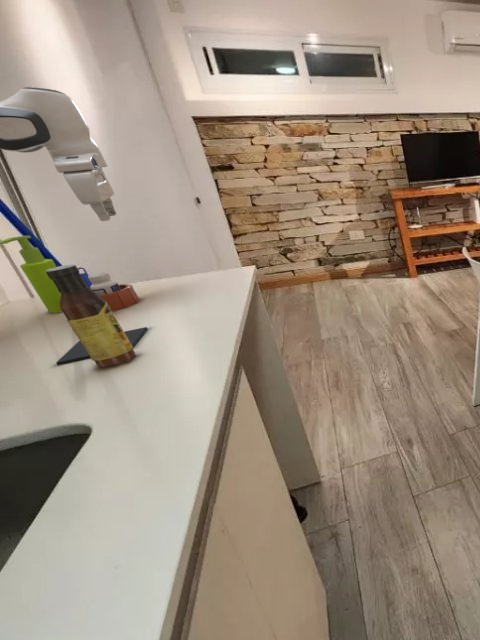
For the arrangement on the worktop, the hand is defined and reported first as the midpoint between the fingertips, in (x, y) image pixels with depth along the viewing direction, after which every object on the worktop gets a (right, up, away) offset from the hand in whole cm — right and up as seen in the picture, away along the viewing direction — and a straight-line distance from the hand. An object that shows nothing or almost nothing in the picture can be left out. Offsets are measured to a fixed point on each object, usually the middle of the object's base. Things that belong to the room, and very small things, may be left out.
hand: (109, 218), depth 123 cm
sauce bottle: (+29, -36, -27) cm, 53 cm away
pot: (-4, -22, +5) cm, 23 cm away
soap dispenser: (-18, -24, +6) cm, 30 cm away
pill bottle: (-4, -23, +5) cm, 24 cm away
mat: (+19, -33, -19) cm, 42 cm away
